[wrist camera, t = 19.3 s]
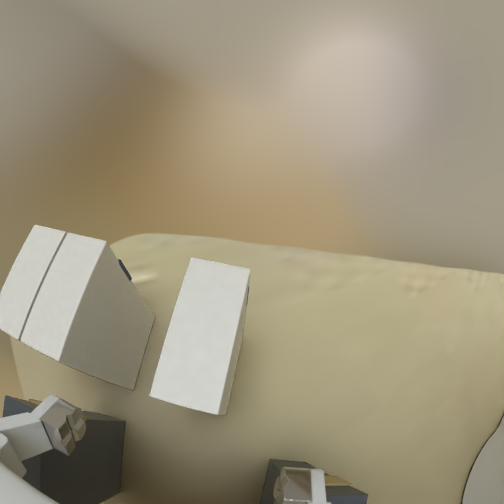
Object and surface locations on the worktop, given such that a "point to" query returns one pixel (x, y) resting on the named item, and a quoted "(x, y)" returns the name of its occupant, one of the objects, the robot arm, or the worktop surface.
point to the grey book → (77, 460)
